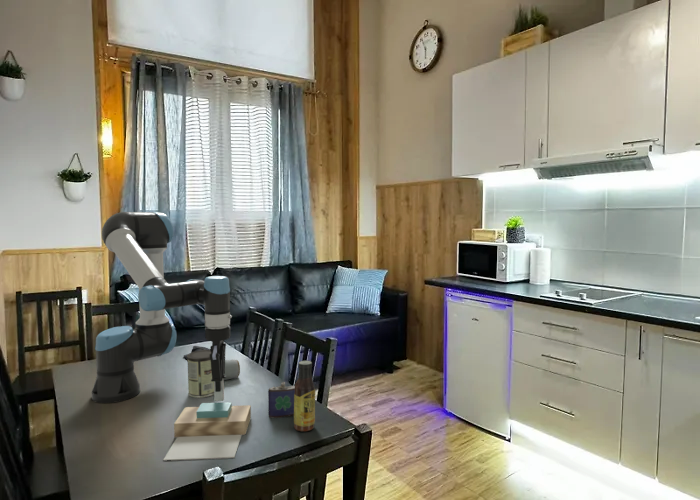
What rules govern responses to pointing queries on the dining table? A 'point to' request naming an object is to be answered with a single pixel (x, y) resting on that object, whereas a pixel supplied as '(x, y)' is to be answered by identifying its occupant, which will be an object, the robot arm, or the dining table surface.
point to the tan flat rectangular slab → (212, 423)
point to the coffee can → (200, 374)
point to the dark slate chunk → (196, 348)
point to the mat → (203, 447)
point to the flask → (281, 401)
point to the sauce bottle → (304, 398)
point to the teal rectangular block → (214, 410)
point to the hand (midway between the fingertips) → (219, 400)
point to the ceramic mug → (231, 369)
